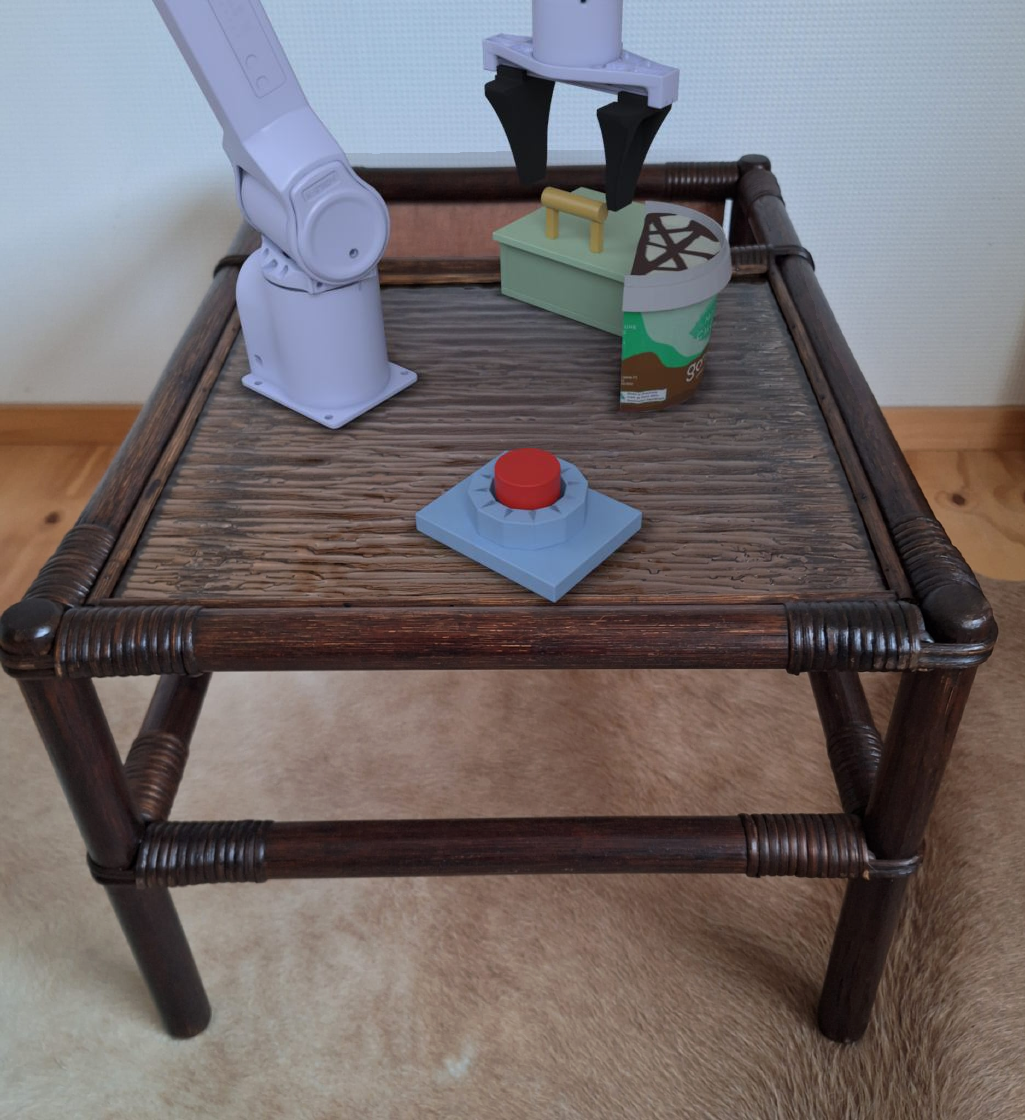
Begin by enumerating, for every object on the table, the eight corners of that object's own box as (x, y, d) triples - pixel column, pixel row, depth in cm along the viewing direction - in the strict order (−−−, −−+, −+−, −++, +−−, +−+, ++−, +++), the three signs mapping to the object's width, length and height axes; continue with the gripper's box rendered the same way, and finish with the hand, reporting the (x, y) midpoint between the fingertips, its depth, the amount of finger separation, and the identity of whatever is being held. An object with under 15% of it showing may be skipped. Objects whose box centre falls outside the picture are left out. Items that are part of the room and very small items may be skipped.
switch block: (416, 530, 61) (411, 487, 59) (506, 465, 66) (504, 424, 64) (554, 603, 56) (554, 560, 54) (641, 528, 61) (644, 485, 59)
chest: (630, 340, 77) (633, 280, 74) (501, 293, 83) (499, 237, 80) (706, 288, 83) (712, 231, 80) (580, 248, 89) (581, 194, 86)
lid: (627, 284, 74) (630, 225, 71) (492, 239, 80) (490, 184, 77) (712, 231, 80) (717, 175, 77) (581, 193, 86) (582, 140, 83)
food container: (713, 433, 68) (730, 286, 61) (616, 424, 69) (623, 279, 62) (724, 338, 77) (740, 202, 71) (638, 332, 78) (646, 197, 72)
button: (481, 495, 59) (480, 469, 58) (523, 465, 61) (522, 440, 60) (532, 520, 57) (532, 494, 56) (573, 488, 59) (574, 462, 58)
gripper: (713, -21, 65) (694, 198, 74) (527, -49, 72) (530, 154, 81) (647, 4, 61) (635, 233, 70) (457, -28, 68) (468, 183, 77)
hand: (575, 193), depth 75 cm, fingers open, 7 cm apart
